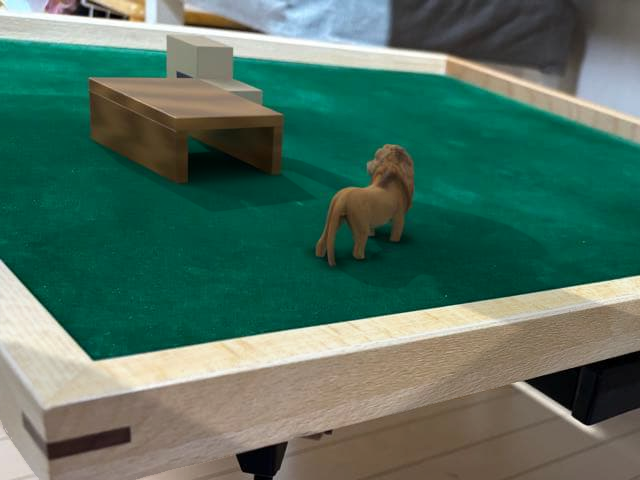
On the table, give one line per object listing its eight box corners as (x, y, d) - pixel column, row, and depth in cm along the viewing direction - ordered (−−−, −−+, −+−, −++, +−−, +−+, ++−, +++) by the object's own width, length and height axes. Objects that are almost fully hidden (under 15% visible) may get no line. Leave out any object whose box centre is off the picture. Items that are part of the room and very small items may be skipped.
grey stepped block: (165, 99, 114) (164, 34, 110) (203, 98, 118) (204, 35, 115) (226, 126, 108) (227, 58, 104) (264, 124, 112) (266, 59, 109)
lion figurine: (365, 228, 85) (374, 134, 81) (417, 241, 85) (429, 148, 80) (301, 274, 72) (308, 165, 68) (362, 289, 72) (373, 181, 67)
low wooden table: (91, 149, 90) (87, 77, 87) (196, 144, 99) (196, 77, 96) (176, 195, 83) (176, 118, 80) (280, 184, 92) (284, 114, 89)
